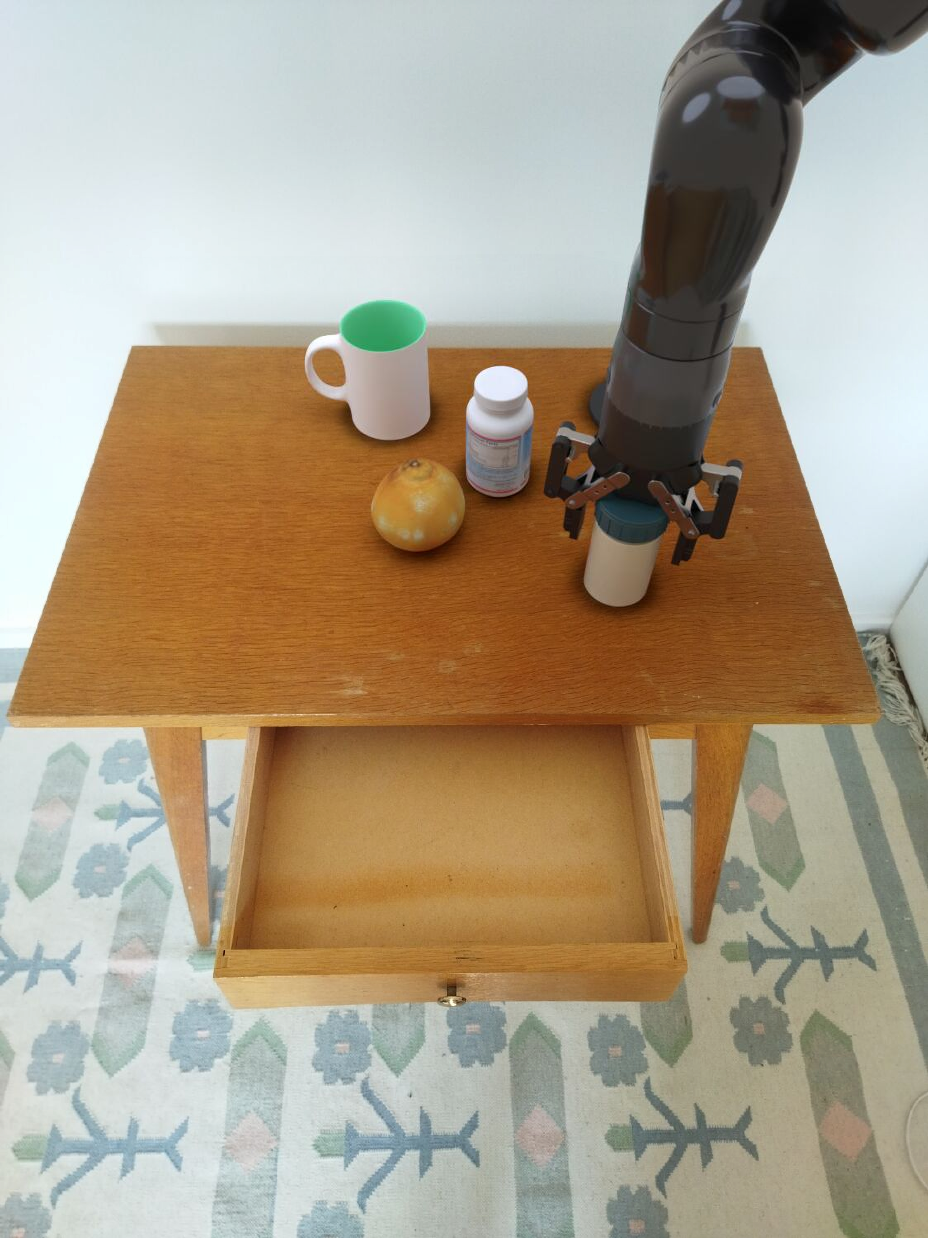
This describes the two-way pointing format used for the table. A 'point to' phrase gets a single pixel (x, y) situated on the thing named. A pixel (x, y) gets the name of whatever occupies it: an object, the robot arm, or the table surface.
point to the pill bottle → (499, 432)
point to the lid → (630, 519)
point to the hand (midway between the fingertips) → (625, 544)
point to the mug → (380, 368)
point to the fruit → (418, 505)
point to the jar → (619, 568)
